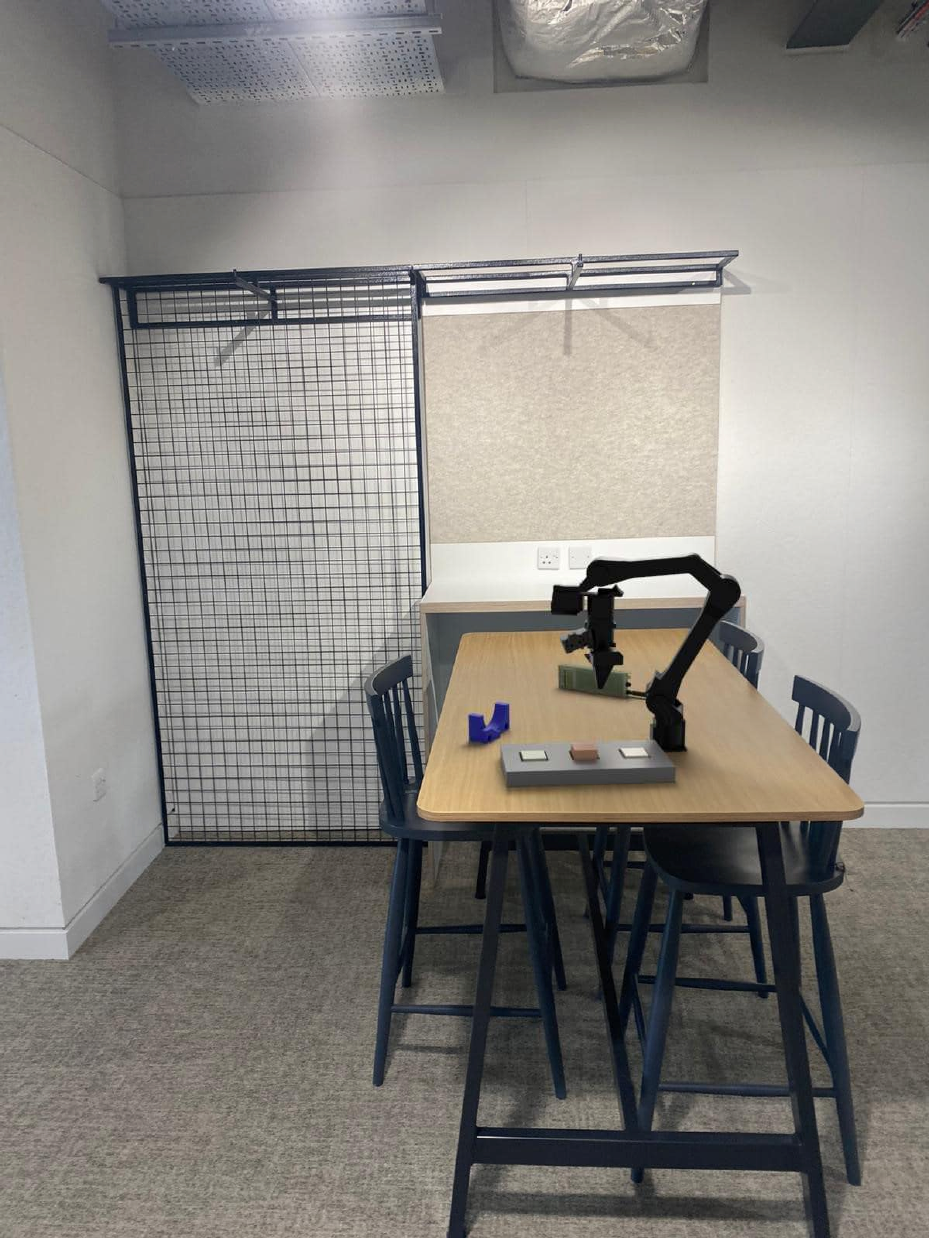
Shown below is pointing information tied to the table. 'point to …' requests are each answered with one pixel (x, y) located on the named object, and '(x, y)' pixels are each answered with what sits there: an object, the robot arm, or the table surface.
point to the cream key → (633, 753)
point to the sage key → (533, 756)
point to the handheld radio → (585, 681)
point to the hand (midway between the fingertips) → (599, 688)
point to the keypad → (585, 765)
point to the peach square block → (584, 751)
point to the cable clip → (495, 726)
